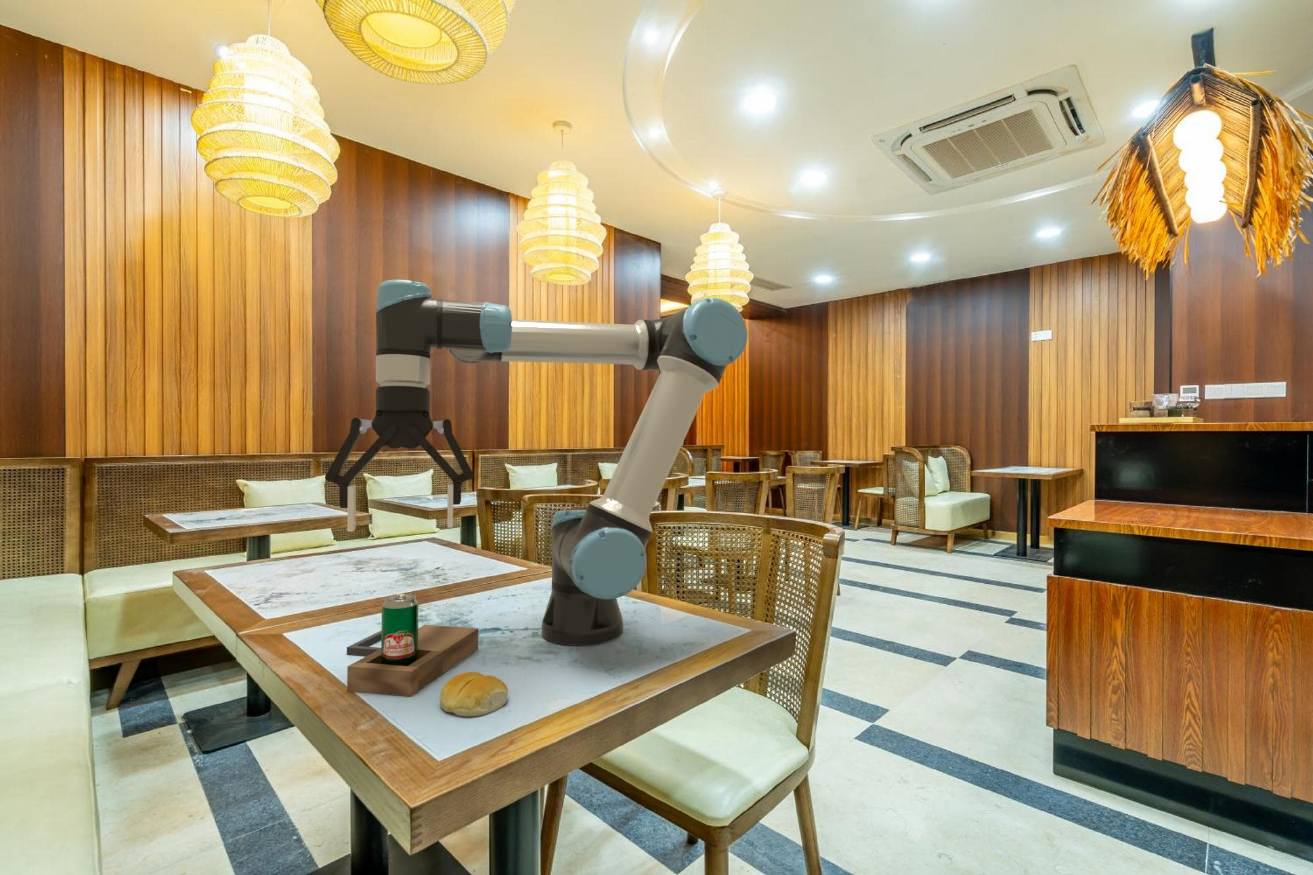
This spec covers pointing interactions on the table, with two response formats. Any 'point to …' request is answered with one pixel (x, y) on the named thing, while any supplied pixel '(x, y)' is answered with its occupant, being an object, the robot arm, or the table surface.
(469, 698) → the bread roll
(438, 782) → the table surface
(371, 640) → the dark square frame
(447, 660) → the caddy
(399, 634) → the soda can
